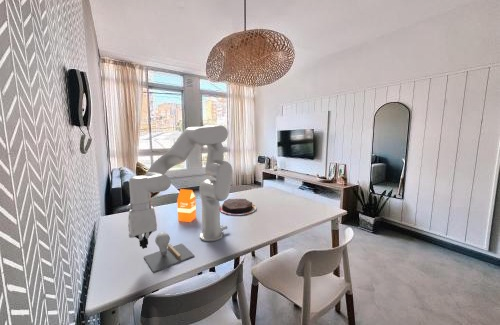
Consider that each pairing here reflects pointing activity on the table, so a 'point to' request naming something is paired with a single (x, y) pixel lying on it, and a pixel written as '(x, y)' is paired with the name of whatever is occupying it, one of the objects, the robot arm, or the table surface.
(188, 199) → the orange juice
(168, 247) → the rail
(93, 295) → the table surface
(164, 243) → the lightbulb
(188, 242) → the table surface
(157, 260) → the mat
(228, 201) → the chocolate cake
